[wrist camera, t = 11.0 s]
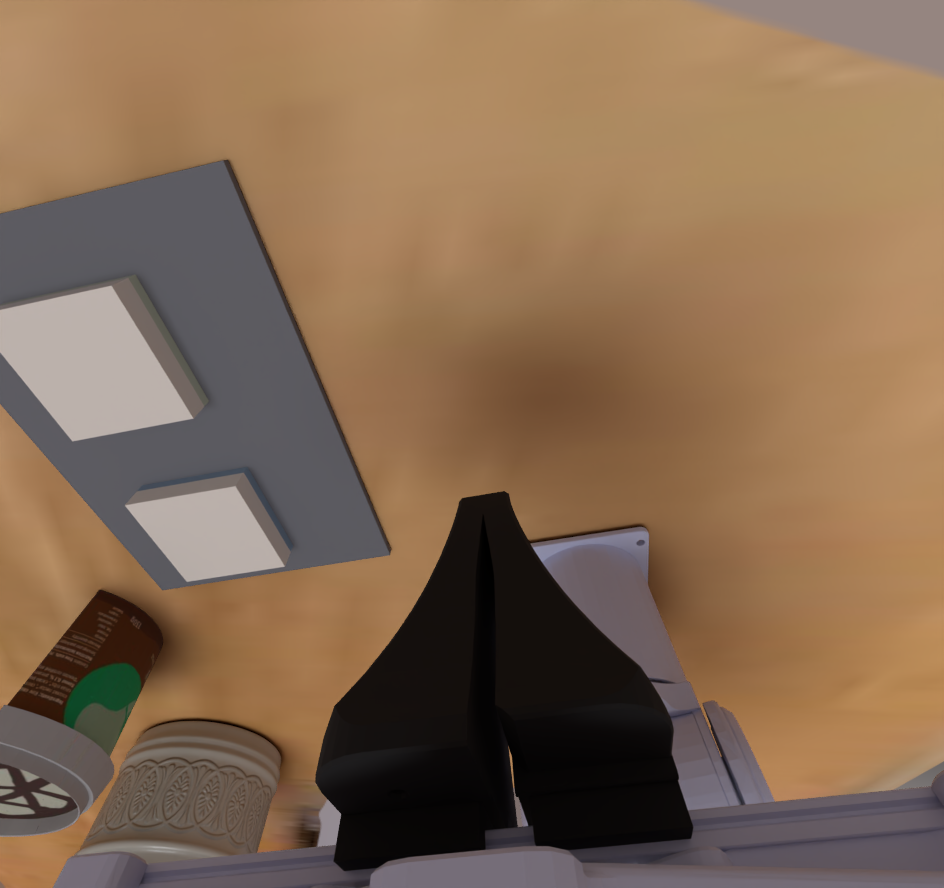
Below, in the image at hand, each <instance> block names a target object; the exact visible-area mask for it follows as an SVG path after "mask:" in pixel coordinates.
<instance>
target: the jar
mask: <svg viewBox="0 0 944 888" xmlns="http://www.w3.org/2000/svg"><path fill="white" fill-rule="evenodd" d="M280 765H281V756H280V754H279V752H278V750H277V749H276V748H275V747H274V746H273V745H272V744H271V743H270V742H269V741H267V740H266V739H264V738H263V737H261V736H259V735H257V734H255V733H253V732H250V731H248V730H245V729H242V728H239V727H235V726H231V725H227V724H222V723H215V722H206V721H179V722H172V723H166V724H162V725H159V726H156V727H154V728H151V729H149V730H147V731H146V732H144V733H143V734H142V735H141V736H140V738H139V739H138V741H137V743H136V744H135V745H134V746H133V747H132V749H131V750H130V751H129V752H128V754H127V755H126V758H125V761H124V762H123V763H122V765H121V767H120V770H119V775H118V777H117V779H116V781H115V783H114V785H113V787H112V789H111V791H110V793H109V795H108V796H107V798H106V800H105V802H104V804H103V806H102V808H101V810H100V812H99V814H98V816H97V818H96V819H95V821H94V823H93V825H92V827H91V829H90V831H89V833H88V835H87V837H86V839H85V841H84V842H83V844H82V846H81V848H80V850H79V851H78V852H77V853H76V854H75V855H83V854H93V853H103V852H112V851H123V852H129V853H132V854H135V855H137V856H139V857H141V858H142V859H144V860H145V861H146V863H147V864H149V863H160V862H170V861H180V860H190V859H200V858H210V857H220V856H230V855H241V854H251V853H257V851H258V847H259V844H260V840H261V837H262V833H263V829H264V826H265V822H266V819H267V815H268V811H269V808H270V804H271V801H272V798H273V796H274V795H275V793H276V790H277V784H278V782H279V779H280Z"/></svg>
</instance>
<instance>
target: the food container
mask: <svg viewBox="0 0 944 888" xmlns="http://www.w3.org/2000/svg"><path fill="white" fill-rule="evenodd" d="M162 645H163V637H162V633H161V631H160V629H159V627H158V625H157V624H156V623H155V622H154V621H153V619H152V618H151V617H149V616H148V615H147V614H146V613H145V612H144V611H142V610H141V609H139V608H138V607H137V606H135V605H133V604H132V603H130V602H128V601H126V600H124V599H122V598H120V597H118V596H116V595H113V594H111V593H108V592H105V591H102V590H99V591H98V592H97V594H96V595H95V596H94V597H93V599H92V600H91V601H90V602H89V604H88V605H87V606H86V607H85V609H84V610H83V611H82V612H81V614H80V615H79V616H78V617H77V619H76V620H75V621H74V622H73V624H72V625H71V626H70V627H69V629H68V630H67V631H66V632H65V634H64V635H63V636H62V637H61V639H60V640H59V641H58V642H57V644H56V645H55V646H54V647H53V649H52V650H51V651H50V652H49V654H48V655H47V656H46V657H45V659H44V660H43V661H42V662H41V664H40V665H39V666H38V667H37V669H36V670H35V671H34V672H33V674H32V675H31V676H30V677H29V679H28V680H27V681H26V682H25V684H24V685H23V686H22V687H21V689H20V690H19V691H18V692H17V694H16V695H15V696H14V697H13V699H12V700H11V701H10V702H9V704H8V705H4V706H3V707H2V709H1V710H0V836H2V837H12V836H33V835H41V834H48V833H52V832H56V831H59V830H62V829H65V828H67V827H69V826H70V825H72V824H74V823H75V822H76V820H77V819H78V818H79V816H80V815H81V814H82V813H84V812H86V811H87V810H88V809H89V808H90V807H91V805H92V804H93V803H94V802H95V800H96V799H97V798H98V796H99V795H100V794H101V792H102V791H103V790H104V788H105V787H106V786H107V784H108V783H109V782H110V781H111V779H112V777H113V774H114V765H113V763H112V761H111V759H110V755H111V753H112V751H113V749H114V747H115V745H116V743H117V740H118V738H119V736H120V734H121V732H122V730H123V728H124V726H125V724H126V722H127V719H128V717H129V715H130V713H131V711H132V709H133V707H134V705H135V703H136V701H137V698H138V696H139V694H140V692H141V690H142V688H143V686H144V684H145V682H146V680H147V677H148V675H149V673H150V671H151V669H152V667H153V665H154V663H155V661H156V659H157V657H158V654H159V652H160V650H161V648H162Z"/></svg>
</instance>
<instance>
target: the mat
mask: <svg viewBox="0 0 944 888" xmlns="http://www.w3.org/2000/svg"><path fill="white" fill-rule="evenodd" d="M130 275H136V276H137V278H138V280H139V282H140V283H141V285H142V287H143V288H144V290H145V292H146V294H147V295H148V297H149V299H150V300H151V302H152V304H153V306H154V307H155V309H156V311H157V312H158V314H159V316H160V318H161V319H162V321H163V323H164V325H165V326H166V328H167V330H168V331H169V333H170V335H171V337H172V338H173V340H174V342H175V343H176V345H177V347H178V349H179V350H180V352H181V354H182V355H183V357H184V359H185V361H186V362H187V364H188V366H189V368H190V369H191V371H192V373H193V374H194V376H195V378H196V380H197V381H198V383H199V385H200V386H201V388H202V390H203V392H204V393H205V395H206V397H207V398H208V400H209V402H208V403H207V404H206V405H205V406H204V408H203V409H202V410H201V411H200V412H199V413H198V414H197V415H196V416H195V418H194V419H189V420H184V421H178V422H173V423H168V424H162V425H157V426H152V427H146V428H141V429H136V430H130V431H125V432H120V433H114V434H109V435H104V436H98V437H93V438H88V439H83V440H77V441H72V440H71V439H70V438H69V436H68V435H67V434H66V433H65V432H64V430H63V429H62V428H61V427H60V425H59V424H58V423H57V422H56V420H55V419H54V418H53V417H52V416H51V414H50V413H49V412H48V411H47V409H46V408H45V407H44V406H43V405H42V403H41V402H40V401H39V400H38V398H37V397H36V396H35V395H34V393H33V392H32V391H31V390H30V389H29V387H28V386H27V385H26V384H25V382H24V381H23V380H22V379H21V377H20V376H19V375H18V374H17V373H16V371H15V370H14V369H13V368H12V366H11V365H10V364H9V363H8V361H7V360H6V359H5V358H4V357H3V355H2V354H1V353H0V404H1V405H2V407H3V408H4V409H5V410H6V411H7V412H8V413H9V415H10V416H11V417H12V418H13V419H14V420H15V421H16V423H17V424H18V425H19V426H20V427H21V428H22V429H23V431H24V432H25V433H26V434H27V435H28V436H29V438H30V439H31V440H32V441H33V442H34V443H35V444H36V446H37V447H38V448H39V449H40V450H41V451H42V452H43V454H44V455H45V456H46V457H47V458H48V459H49V460H50V462H51V463H52V464H53V465H54V466H55V467H56V469H57V470H58V471H59V472H60V473H61V474H62V475H63V477H64V478H65V479H66V480H67V481H68V482H69V483H70V485H71V486H72V487H73V488H74V489H75V490H76V492H77V493H78V494H79V495H80V496H81V497H82V498H83V500H84V501H85V502H86V503H87V504H88V505H89V506H90V508H91V509H92V510H93V511H94V512H95V513H96V514H97V516H98V517H99V518H100V519H101V520H102V521H103V523H104V524H105V525H106V526H107V527H108V528H109V529H110V531H111V532H112V533H113V534H114V535H115V536H116V537H117V539H118V540H119V541H120V542H121V543H122V544H123V545H124V547H125V548H126V549H127V550H128V551H129V552H130V554H131V555H132V556H133V557H134V558H135V559H136V560H137V562H138V563H139V564H140V565H141V566H142V567H143V568H144V570H145V571H146V572H147V573H148V574H149V575H150V576H151V578H152V579H153V580H154V581H155V582H156V583H157V585H158V586H159V587H160V588H161V589H162V590H167V589H173V588H180V587H186V586H193V585H199V584H206V583H212V582H219V581H225V580H232V579H238V578H245V577H251V576H258V575H264V574H271V573H277V572H284V571H290V570H297V569H303V568H310V567H316V566H323V565H329V564H335V563H342V562H348V561H355V560H361V559H368V558H374V557H381V556H387V555H390V553H391V549H390V547H389V544H388V542H387V540H386V537H385V535H384V533H383V530H382V528H381V525H380V523H379V521H378V518H377V516H376V513H375V511H374V509H373V506H372V504H371V501H370V499H369V497H368V494H367V492H366V489H365V487H364V485H363V482H362V480H361V477H360V475H359V473H358V470H357V468H356V466H355V463H354V461H353V458H352V456H351V454H350V451H349V449H348V446H347V444H346V442H345V439H344V437H343V434H342V432H341V430H340V427H339V425H338V422H337V420H336V418H335V415H334V413H333V410H332V408H331V406H330V403H329V401H328V399H327V396H326V394H325V391H324V389H323V387H322V384H321V382H320V379H319V377H318V375H317V372H316V370H315V367H314V365H313V363H312V360H311V358H310V355H309V353H308V351H307V348H306V346H305V344H304V341H303V339H302V336H301V334H300V332H299V329H298V327H297V324H296V322H295V320H294V317H293V315H292V312H291V310H290V308H289V305H288V303H287V300H286V298H285V296H284V293H283V291H282V288H281V286H280V284H279V281H278V279H277V277H276V274H275V272H274V269H273V267H272V265H271V262H270V260H269V257H268V255H267V253H266V250H265V248H264V245H263V243H262V241H261V238H260V236H259V233H258V231H257V229H256V226H255V224H254V221H253V219H252V217H251V214H250V212H249V210H248V207H247V205H246V202H245V200H244V198H243V195H242V193H241V190H240V188H239V186H238V183H237V181H236V178H235V176H234V174H233V171H232V169H231V166H230V164H229V162H228V160H224V161H219V162H215V163H211V164H207V165H203V166H198V167H194V168H190V169H186V170H182V171H178V172H173V173H169V174H165V175H161V176H157V177H152V178H148V179H144V180H140V181H136V182H132V183H127V184H123V185H119V186H115V187H111V188H106V189H102V190H98V191H94V192H90V193H85V194H81V195H77V196H73V197H69V198H65V199H60V200H56V201H52V202H48V203H44V204H39V205H35V206H31V207H27V208H23V209H19V210H14V211H10V212H6V213H2V214H0V305H1V304H3V303H8V302H12V301H17V300H21V299H26V298H30V297H35V296H39V295H44V294H49V293H53V292H58V291H62V290H67V289H71V288H76V287H80V286H85V285H90V284H94V283H99V282H103V281H108V280H112V279H117V278H121V277H126V276H130ZM243 467H248V469H249V471H250V472H251V474H252V476H253V477H254V479H255V481H256V483H257V484H258V486H259V488H260V489H261V491H262V493H263V495H264V496H265V498H266V500H267V501H268V503H269V505H270V507H271V508H272V510H273V512H274V514H275V515H276V517H277V519H278V520H279V522H280V524H281V526H282V527H283V529H284V531H285V532H286V534H287V536H288V538H289V539H290V541H291V543H292V544H293V548H292V550H291V553H290V555H289V558H288V560H287V563H286V565H285V567H279V568H273V569H266V570H260V571H254V572H247V573H241V574H234V575H228V576H221V577H215V578H208V579H202V580H196V581H189V582H187V581H186V580H185V579H184V578H183V577H182V575H181V574H180V573H179V572H178V570H177V569H176V568H175V567H174V565H173V564H172V563H171V562H170V561H169V559H168V558H167V557H166V556H165V554H164V553H163V552H162V551H161V549H160V548H159V547H158V546H157V545H156V543H155V542H154V541H153V540H152V538H151V537H150V536H149V535H148V533H147V532H146V531H145V530H144V529H143V527H142V526H141V525H140V524H139V522H138V521H137V520H136V519H135V518H134V516H133V515H132V514H131V513H130V511H129V510H128V509H127V508H126V506H125V504H126V503H127V502H128V501H129V500H130V499H131V498H132V496H133V495H134V494H135V493H136V492H137V491H138V490H139V488H140V487H141V486H142V485H147V484H153V483H158V482H164V481H170V480H175V479H181V478H187V477H192V476H198V475H204V474H209V473H215V472H221V471H226V470H232V469H238V468H243Z"/></svg>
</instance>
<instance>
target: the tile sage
mask: <svg viewBox="0 0 944 888" xmlns="http://www.w3.org/2000/svg"><path fill="white" fill-rule="evenodd" d="M0 353H1V354H2V355H3V357H4V358H5V359H6V360H7V361H8V363H9V364H10V365H11V366H12V368H13V369H14V370H15V371H16V373H17V374H18V375H19V376H20V377H21V379H22V380H23V381H24V382H25V384H26V385H27V386H28V387H29V389H30V390H31V391H32V392H33V393H34V395H35V396H36V397H37V398H38V400H39V401H40V402H41V403H42V405H43V406H44V407H45V408H46V409H47V411H48V412H49V413H50V414H51V416H52V417H53V418H54V419H55V420H56V422H57V423H58V424H59V425H60V427H61V428H62V429H63V430H64V432H65V433H66V434H67V435H68V436H69V438H70V439H71V440H72V441H77V440H83V439H88V438H93V437H98V436H104V435H109V434H114V433H120V432H125V431H130V430H136V429H141V428H146V427H152V426H157V425H162V424H168V423H173V422H178V421H184V420H189V419H194V418H195V416H196V415H197V414H198V413H199V412H200V411H201V410H202V409H203V408H204V406H205V405H206V404H207V403H208V402H209V400H208V398H207V397H206V395H205V393H204V392H203V390H202V388H201V386H200V385H199V383H198V381H197V380H196V378H195V376H194V374H193V373H192V371H191V369H190V368H189V366H188V364H187V362H186V361H185V359H184V357H183V355H182V354H181V352H180V350H179V349H178V347H177V345H176V343H175V342H174V340H173V338H172V337H171V335H170V333H169V331H168V330H167V328H166V326H165V325H164V323H163V321H162V319H161V318H160V316H159V314H158V312H157V311H156V309H155V307H154V306H153V304H152V302H151V300H150V299H149V297H148V295H147V294H146V292H145V290H144V288H143V287H142V285H141V283H140V282H139V280H138V278H137V276H136V275H130V276H126V277H121V278H117V279H112V280H108V281H103V282H99V283H94V284H90V285H85V286H80V287H76V288H71V289H67V290H62V291H58V292H53V293H49V294H44V295H39V296H35V297H30V298H26V299H21V300H17V301H12V302H8V303H3V304H1V305H0Z"/></svg>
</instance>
